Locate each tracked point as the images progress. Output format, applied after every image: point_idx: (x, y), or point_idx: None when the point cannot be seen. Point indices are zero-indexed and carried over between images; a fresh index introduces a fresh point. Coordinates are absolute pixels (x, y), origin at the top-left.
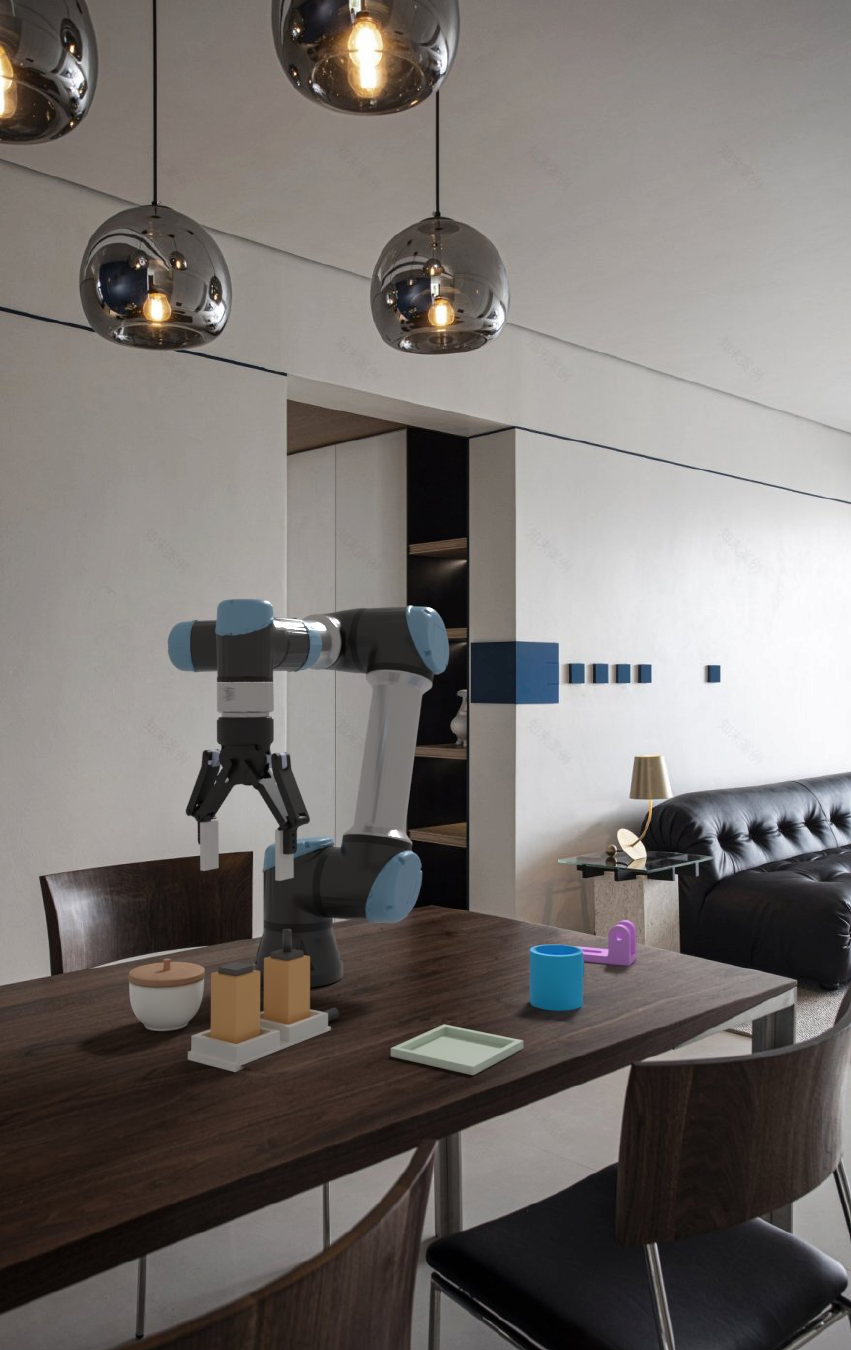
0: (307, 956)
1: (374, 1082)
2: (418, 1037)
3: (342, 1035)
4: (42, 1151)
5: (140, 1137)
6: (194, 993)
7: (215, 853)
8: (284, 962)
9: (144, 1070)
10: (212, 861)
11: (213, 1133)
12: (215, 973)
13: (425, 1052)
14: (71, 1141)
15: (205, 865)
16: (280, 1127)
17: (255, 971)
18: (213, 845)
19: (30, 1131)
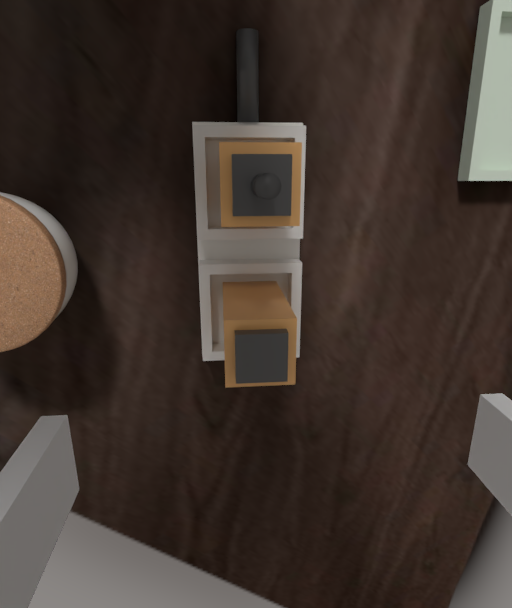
0: (298, 149)
1: (478, 268)
2: (484, 103)
3: (321, 117)
4: (292, 587)
5: (345, 524)
6: (70, 260)
7: (41, 480)
8: (286, 225)
9: (189, 410)
10: (60, 472)
11: (401, 480)
12: (234, 384)
13: (502, 133)
14: (296, 563)
15: (71, 500)
16: (452, 433)
17: (291, 326)
18: (24, 529)
19: (243, 573)
